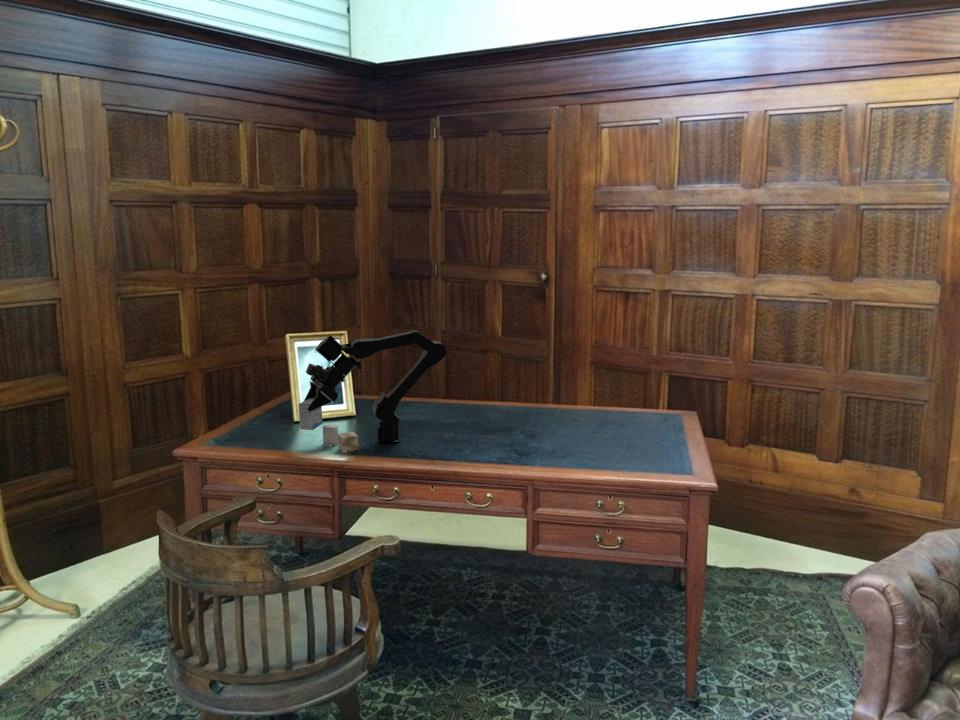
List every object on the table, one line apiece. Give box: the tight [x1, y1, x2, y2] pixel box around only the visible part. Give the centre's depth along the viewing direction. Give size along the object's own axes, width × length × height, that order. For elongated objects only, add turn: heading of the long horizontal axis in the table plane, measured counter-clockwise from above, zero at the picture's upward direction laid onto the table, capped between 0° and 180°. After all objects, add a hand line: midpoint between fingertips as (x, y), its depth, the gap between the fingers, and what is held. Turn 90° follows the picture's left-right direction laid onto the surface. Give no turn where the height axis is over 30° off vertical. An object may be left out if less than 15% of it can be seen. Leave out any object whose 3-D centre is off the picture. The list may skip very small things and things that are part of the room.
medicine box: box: [298, 398, 323, 431], centre depth 255 cm, size 8×4×9 cm, turn 167°
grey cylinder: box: [322, 423, 339, 447], centre depth 260 cm, size 5×5×6 cm
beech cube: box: [337, 431, 359, 453], centre depth 254 cm, size 5×5×5 cm
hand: (306, 407), depth 254 cm, fingers closed on medicine box, 9 cm apart
